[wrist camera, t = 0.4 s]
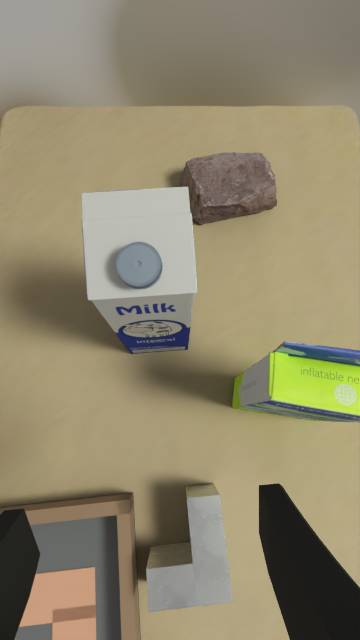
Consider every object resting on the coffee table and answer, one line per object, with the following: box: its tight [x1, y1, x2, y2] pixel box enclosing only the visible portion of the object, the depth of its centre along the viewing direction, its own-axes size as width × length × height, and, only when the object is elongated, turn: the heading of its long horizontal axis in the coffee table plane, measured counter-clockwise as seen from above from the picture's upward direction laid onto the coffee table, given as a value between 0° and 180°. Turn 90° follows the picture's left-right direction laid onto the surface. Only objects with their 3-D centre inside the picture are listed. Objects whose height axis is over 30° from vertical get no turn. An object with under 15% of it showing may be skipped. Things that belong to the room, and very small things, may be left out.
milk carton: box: [82, 187, 197, 354], centre depth 29 cm, size 7×7×20 cm
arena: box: [0, 493, 141, 640], centre depth 29 cm, size 20×16×3 cm
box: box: [232, 341, 360, 422], centre depth 28 cm, size 10×4×17 cm, turn 82°
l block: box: [146, 484, 233, 612], centre depth 30 cm, size 8×7×5 cm
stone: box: [181, 152, 277, 225], centre depth 42 cm, size 12×9×5 cm
